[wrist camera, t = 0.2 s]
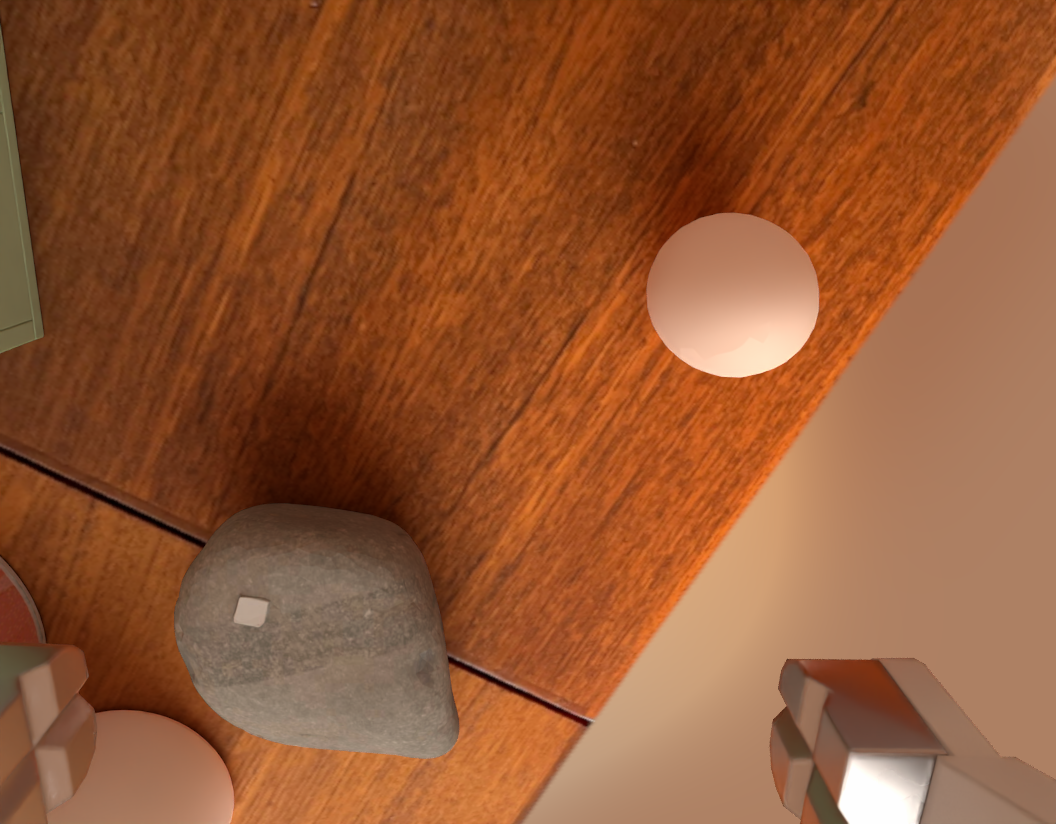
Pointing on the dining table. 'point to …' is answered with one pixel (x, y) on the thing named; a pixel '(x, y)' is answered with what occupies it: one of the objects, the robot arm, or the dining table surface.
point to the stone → (319, 632)
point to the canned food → (17, 610)
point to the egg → (733, 295)
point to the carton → (14, 237)
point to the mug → (149, 776)
